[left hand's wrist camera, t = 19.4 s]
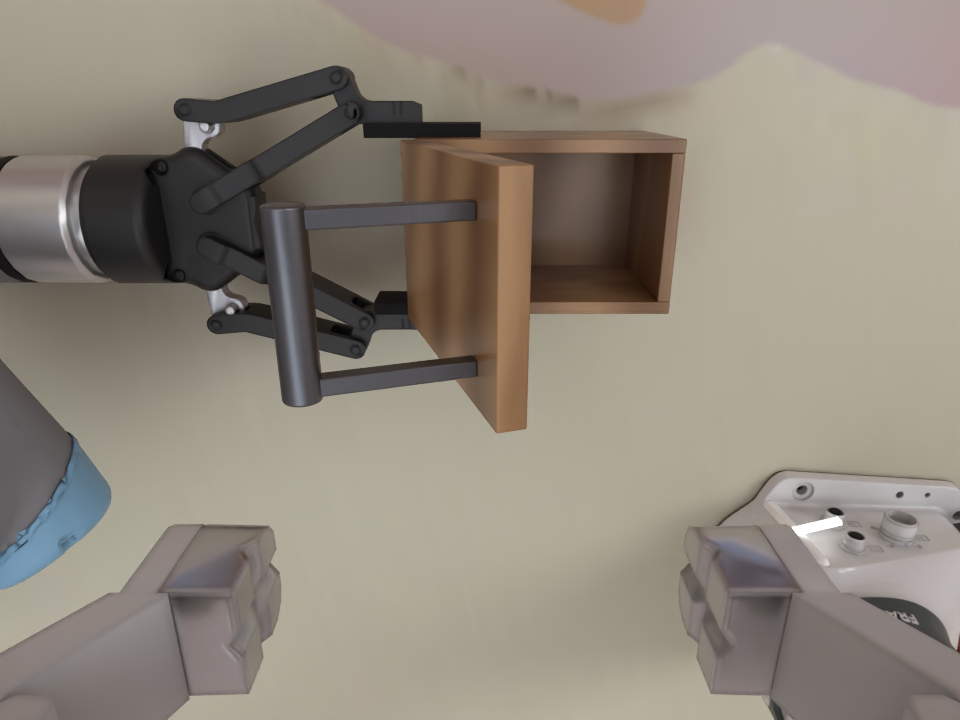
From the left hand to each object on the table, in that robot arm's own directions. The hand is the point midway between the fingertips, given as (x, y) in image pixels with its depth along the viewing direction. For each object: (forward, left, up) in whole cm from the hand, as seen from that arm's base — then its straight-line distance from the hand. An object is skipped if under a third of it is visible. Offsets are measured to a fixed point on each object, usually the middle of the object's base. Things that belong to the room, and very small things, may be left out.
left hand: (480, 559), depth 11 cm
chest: (-4, 0, -38) cm, 38 cm away
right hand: (0, 0, -32) cm, 32 cm away
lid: (+1, 0, -21) cm, 21 cm away
